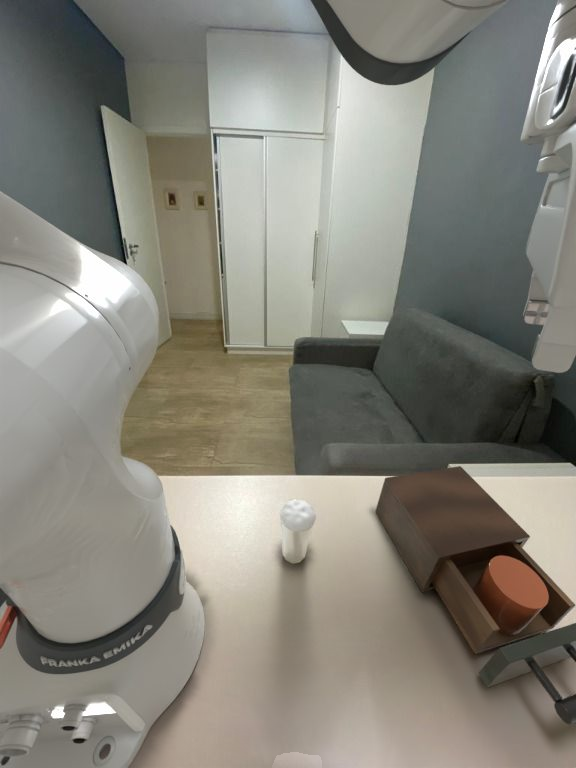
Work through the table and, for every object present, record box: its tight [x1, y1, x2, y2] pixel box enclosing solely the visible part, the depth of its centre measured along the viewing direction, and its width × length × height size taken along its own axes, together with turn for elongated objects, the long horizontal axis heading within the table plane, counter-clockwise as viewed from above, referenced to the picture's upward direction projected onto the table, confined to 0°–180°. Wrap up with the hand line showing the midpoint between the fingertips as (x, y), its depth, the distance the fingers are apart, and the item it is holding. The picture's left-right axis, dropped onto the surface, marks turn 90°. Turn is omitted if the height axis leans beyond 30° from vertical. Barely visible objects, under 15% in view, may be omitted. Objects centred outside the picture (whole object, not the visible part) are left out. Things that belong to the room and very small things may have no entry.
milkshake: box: [279, 498, 317, 565], centre depth 41 cm, size 4×5×10 cm
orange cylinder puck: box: [472, 556, 549, 636], centre depth 35 cm, size 6×6×6 cm
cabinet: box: [375, 465, 531, 593], centre depth 45 cm, size 13×14×8 cm
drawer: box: [432, 543, 576, 725], centre depth 34 cm, size 16×12×6 cm
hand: (539, 341), depth 23 cm, fingers open, 8 cm apart
